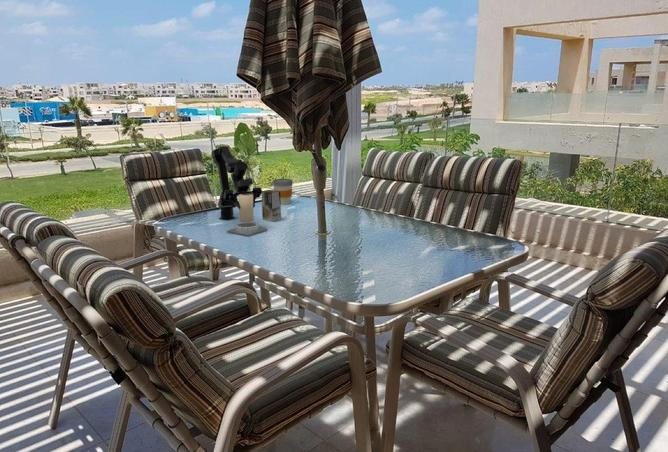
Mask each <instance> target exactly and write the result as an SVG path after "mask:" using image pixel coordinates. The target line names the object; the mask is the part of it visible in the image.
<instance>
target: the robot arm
mask: <svg viewBox="0 0 668 452" xmlns="http://www.w3.org/2000/svg"><path fill="white" fill-rule="evenodd" d="M211 158H212V160H213V163H214V164H215V165H216V166H217V167H216V168H217V172H218V177H219V185H220V189H221V191H220V194H219V199H218V202H217V206H218V209H220V217H219V219H220V220H226V221H229V220H233V219H236V216H234V208H237V209H238V210H239V209H240V204H239V198H238V197H239V194H246V193H247V194H253V208H255V206H256V200H257V199H259V198H260V197H261V196H262V194H261V193H262V191H263V190H262V188H261V187H253V188H252V190H249V189H250V186H252V185H253V184H254V182H253V178H252V177H248V178H247V179H245V177H244V176H245V175H246V172H247V170H248V167H249V166H248V163H246V162H245V161H243V160H242V159H236V158H235V157H234V155H233V154H232V152H231V151H230V147H229V146H226V145H225V146H223V145H222V146H219V147H217V148H214V149H213V150H212V151H211ZM228 174H231V176H230V177H231V181H232V182H233V183H232V184H233V189H234V190H235V191H234V190H233V189H231V187H230V186H231V185H230V181H229V177H228Z"/></svg>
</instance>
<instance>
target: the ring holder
mask: <svg viewBox="0 0 668 452" xmlns="http://www.w3.org/2000/svg"><path fill="white" fill-rule="evenodd" d="M267 231H268V228H265V227H259V224H258V223H257V222H254V221H251V222H238V223H236V224H235V228H231V229H229V230H226V232H227V233H228V234H232V235H237V236H243V237H247V238H248V237H252V236H255V235H259V234H262V233H265V232H267Z"/></svg>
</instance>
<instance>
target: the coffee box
mask: <svg viewBox="0 0 668 452" xmlns="http://www.w3.org/2000/svg"><path fill="white" fill-rule="evenodd" d="M281 207H282V205H281V201H280V191H275V190H273V189H266V190H262V193H261V212H262V215H261V216H262V220H265V221H267V222H268V221H269V222H273V223H274V222H276V221H277V222H278V221H282V208H281Z"/></svg>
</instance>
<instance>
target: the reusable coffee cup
mask: <svg viewBox="0 0 668 452" xmlns="http://www.w3.org/2000/svg"><path fill="white" fill-rule="evenodd" d="M272 186H273V189H272V190H275V191H280V201H281V206H288V205H290V204H291V198H292V193H293V179H289V178H277V179H273V180H272Z"/></svg>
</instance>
